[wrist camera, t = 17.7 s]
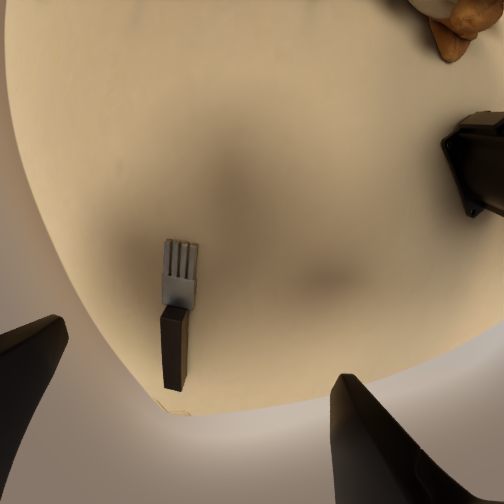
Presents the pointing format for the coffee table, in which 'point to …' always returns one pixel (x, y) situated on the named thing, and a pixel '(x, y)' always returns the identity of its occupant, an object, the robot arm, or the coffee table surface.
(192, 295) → the fork
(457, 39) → the stuffed squirrel
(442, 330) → the coffee table surface
